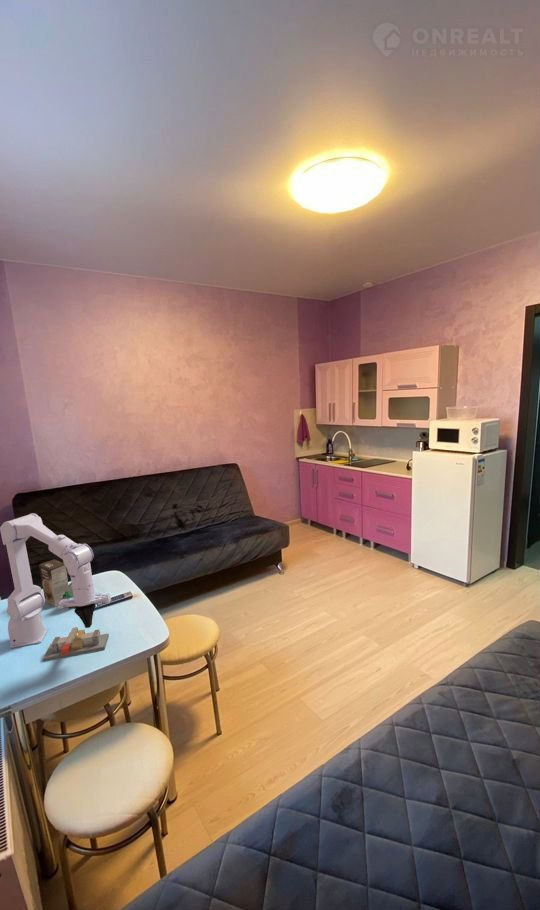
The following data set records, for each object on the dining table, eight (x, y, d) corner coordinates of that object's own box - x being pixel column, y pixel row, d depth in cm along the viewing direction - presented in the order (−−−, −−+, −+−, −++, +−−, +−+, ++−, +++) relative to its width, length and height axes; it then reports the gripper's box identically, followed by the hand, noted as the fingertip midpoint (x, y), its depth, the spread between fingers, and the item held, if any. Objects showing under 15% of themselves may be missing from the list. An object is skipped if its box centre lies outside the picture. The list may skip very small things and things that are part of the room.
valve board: (43, 661, 119) (42, 658, 119) (50, 646, 126) (50, 644, 126) (104, 649, 123) (104, 646, 123) (108, 636, 130) (108, 633, 130)
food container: (80, 611, 147) (76, 587, 145) (66, 610, 148) (62, 586, 147) (100, 594, 159) (97, 572, 157) (87, 594, 160) (84, 571, 158)
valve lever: (72, 633, 124) (71, 627, 124) (79, 632, 125) (78, 626, 124) (62, 656, 113) (61, 650, 113) (69, 655, 114) (68, 648, 113)
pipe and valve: (51, 654, 121) (49, 643, 120) (55, 646, 125) (54, 634, 125) (98, 645, 124) (97, 634, 123) (101, 637, 128) (99, 626, 128)
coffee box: (44, 601, 156) (38, 564, 153) (60, 594, 161) (54, 558, 159) (55, 607, 151) (49, 569, 148) (71, 600, 156) (65, 562, 153)
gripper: (111, 576, 121) (116, 615, 123) (63, 581, 120) (69, 621, 122) (104, 587, 114) (110, 628, 116) (53, 593, 113) (60, 634, 115)
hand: (88, 625), depth 119 cm, fingers closed
